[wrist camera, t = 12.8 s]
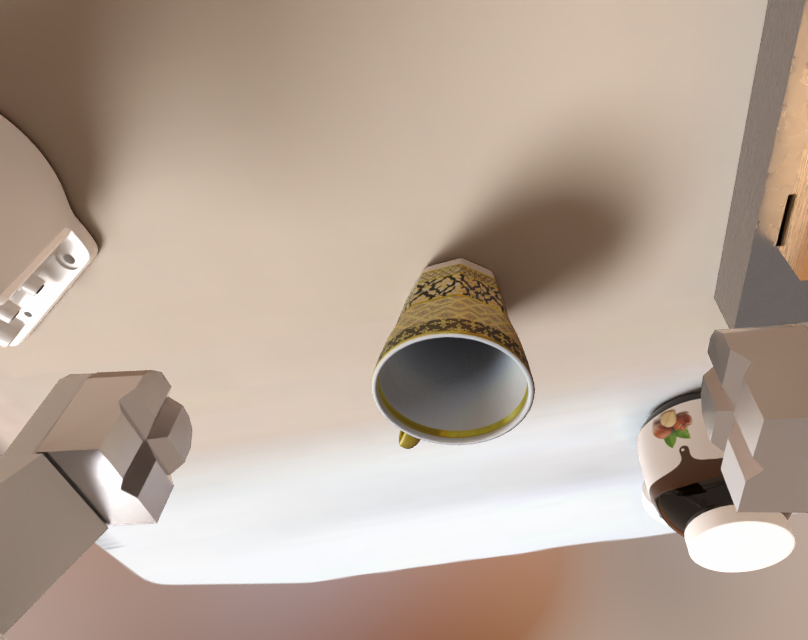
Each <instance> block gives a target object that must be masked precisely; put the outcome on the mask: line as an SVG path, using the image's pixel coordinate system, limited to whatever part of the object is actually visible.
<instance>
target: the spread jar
mask: <svg viewBox="0 0 808 640" xmlns="http://www.w3.org/2000/svg"><path fill="white" fill-rule="evenodd" d="M637 445H638V455H639V460H640V464H641V468H642V472H643V476H644V482H643V485H642V503H643V506H644V508H645V509H646V511H647V512H648V513H649V514H650V515H651V516H652V517H653V518H655V519H656V520H657V521H659V522H661V523H663V524H665V525H668V526H669V527H670V528H672V529H673V530H674V531H675V532H677V533H678V534H680V535H681V536H683V537H684V538H685V541H686V544H687V547H688V551H689V554H690V556H691V558H692V559H693V560H694V561H695V562H696V563H697V564H699V565H700V566H702V567H705V568H708V569H711V570H715V571H722V572H746V571H753V570H758V569H761V568H765V567H768V566H771V565H774V564H776V563H778V562H780V561H781V560H783V559H784V558H786V557H787V556H788V555H789V554H790V553H791V552H792V551H793V549H794V547H795V542H796V540H795V537H794V535H793V532H792V530H791V528H790V526H789V523H788V521H787V520H788V519H789V517H790V515H791V514H792V513H774V512H737V511H736V508H735V505H734V503H733V500H732V497H731V495H730V492H729V490H728V487H727V484H726V482H725V479H724V477H723V474H722V471H721V466H722V461H723V457H724V453H725V452H723V451H722V450H721V449H719V448H718V447H717V446H715V445H714V444H713V443H711V442H710V439H709V436H708V433H707V430H706V428H705V424H704V419H703V415H702V406H701V392H700V393H692V394H687V395H684V396H680V397H678V398H675V399H673V400H671V401H669V402H667V403H666V404H664V405H662V406H661V407H660V408H658V409H657V410H656V411H655V412H654V413H653V414H652V415H651V416H650V417H649V418H648V419H647V420H646V422H645V423H644V424H643V426H642V428H641V430H640V432H639V435H638V443H637Z"/></svg>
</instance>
